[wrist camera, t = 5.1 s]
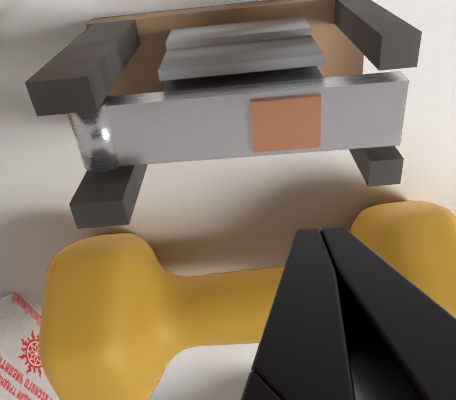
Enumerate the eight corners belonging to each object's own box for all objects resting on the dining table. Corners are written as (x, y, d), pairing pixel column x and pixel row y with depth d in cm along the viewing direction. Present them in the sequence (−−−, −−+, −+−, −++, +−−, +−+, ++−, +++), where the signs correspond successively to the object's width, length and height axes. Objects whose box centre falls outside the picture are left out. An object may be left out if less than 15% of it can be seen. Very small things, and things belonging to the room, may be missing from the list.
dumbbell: (108, 319, 27) (70, 454, 21) (60, 200, 22) (-11, 327, 16) (416, 291, 26) (482, 425, 19) (437, 160, 21) (537, 278, 14)
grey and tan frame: (361, -10, 17) (446, 40, 10) (353, 103, 19) (418, 200, 13) (92, 18, 17) (13, 83, 11) (119, 125, 20) (68, 229, 13)
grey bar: (396, 68, 13) (412, 83, 12) (389, 129, 14) (403, 149, 13) (74, 96, 14) (58, 113, 13) (91, 152, 15) (78, 173, 14)
